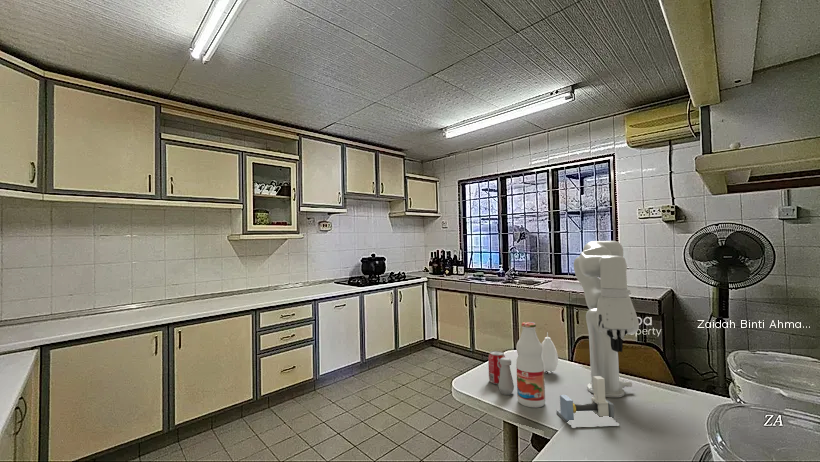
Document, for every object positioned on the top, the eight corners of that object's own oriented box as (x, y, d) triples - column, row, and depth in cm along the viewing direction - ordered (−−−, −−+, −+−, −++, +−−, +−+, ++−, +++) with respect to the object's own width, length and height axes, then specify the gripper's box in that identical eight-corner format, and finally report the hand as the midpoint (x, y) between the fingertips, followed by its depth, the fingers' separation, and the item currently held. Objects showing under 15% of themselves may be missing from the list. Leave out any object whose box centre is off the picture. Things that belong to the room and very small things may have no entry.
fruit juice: (550, 402, 125) (547, 323, 126) (537, 410, 118) (534, 327, 120) (525, 394, 131) (523, 319, 133) (512, 402, 125) (510, 323, 127)
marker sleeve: (600, 410, 114) (599, 375, 115) (608, 416, 110) (607, 379, 111) (592, 410, 114) (590, 375, 115) (599, 416, 110) (597, 379, 111)
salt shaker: (496, 390, 136) (495, 356, 137) (510, 389, 137) (509, 355, 138) (501, 396, 130) (500, 360, 131) (516, 395, 131) (515, 360, 132)
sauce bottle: (541, 375, 152) (540, 333, 153) (538, 369, 160) (536, 329, 161) (560, 376, 151) (558, 333, 152) (556, 370, 158) (554, 329, 159)
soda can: (508, 381, 146) (507, 351, 146) (503, 386, 140) (502, 356, 140) (492, 378, 149) (491, 349, 150) (486, 383, 143) (485, 353, 144)
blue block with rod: (600, 411, 117) (599, 390, 118) (619, 426, 107) (618, 402, 108) (556, 413, 116) (555, 391, 117) (572, 428, 106) (571, 404, 107)
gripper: (628, 292, 119) (631, 347, 117) (585, 292, 118) (588, 348, 117) (644, 294, 111) (647, 353, 110) (598, 295, 111) (601, 354, 109)
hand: (616, 350), depth 113 cm, fingers closed
